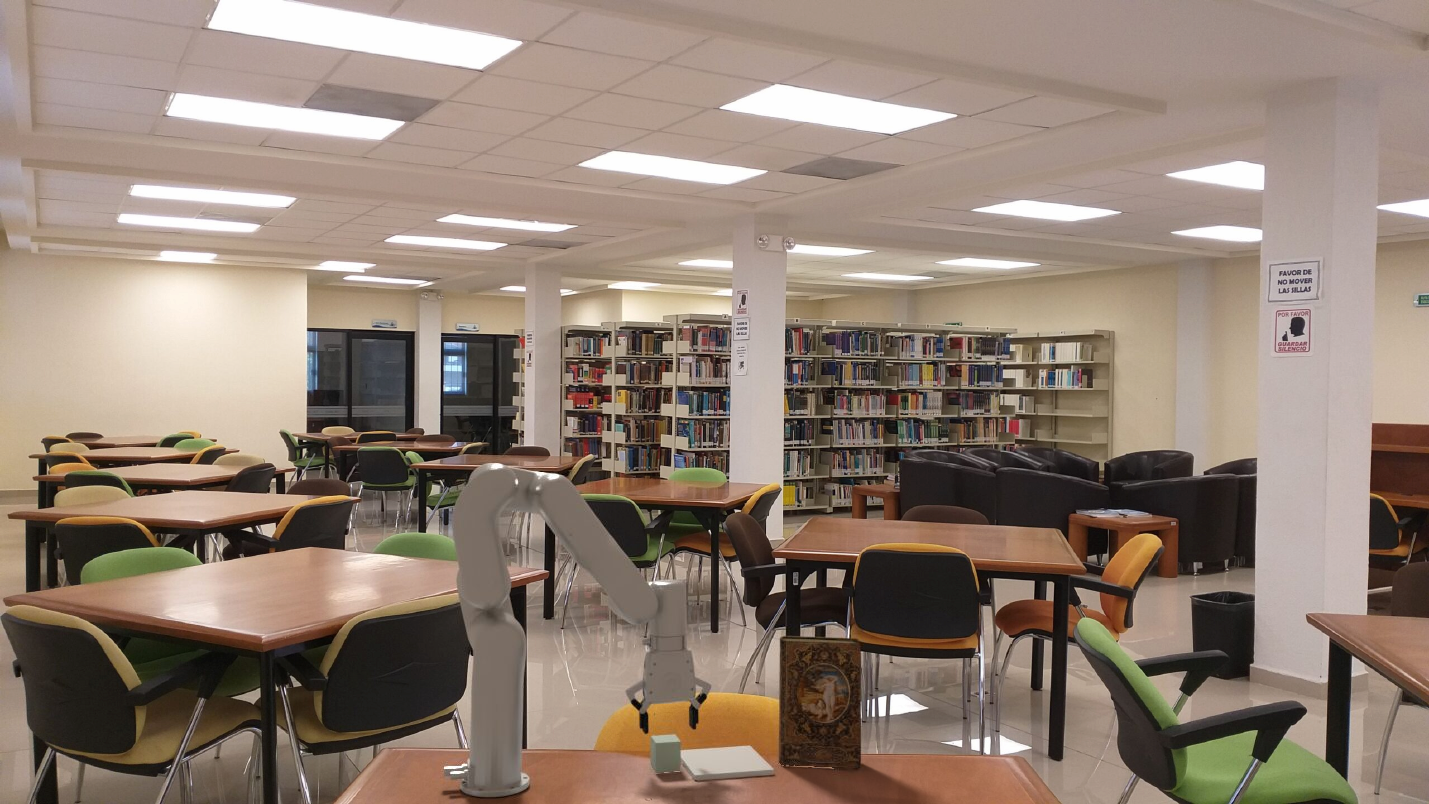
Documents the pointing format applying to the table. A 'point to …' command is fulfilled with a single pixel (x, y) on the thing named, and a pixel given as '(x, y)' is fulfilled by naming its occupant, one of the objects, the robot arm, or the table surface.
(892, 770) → the table surface
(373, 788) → the table surface
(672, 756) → the block
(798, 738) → the book
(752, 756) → the pale board
